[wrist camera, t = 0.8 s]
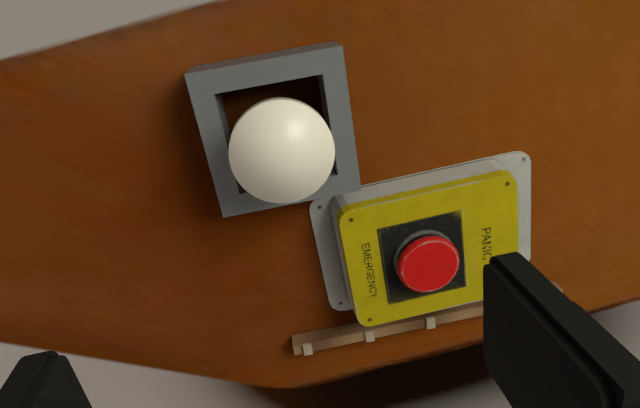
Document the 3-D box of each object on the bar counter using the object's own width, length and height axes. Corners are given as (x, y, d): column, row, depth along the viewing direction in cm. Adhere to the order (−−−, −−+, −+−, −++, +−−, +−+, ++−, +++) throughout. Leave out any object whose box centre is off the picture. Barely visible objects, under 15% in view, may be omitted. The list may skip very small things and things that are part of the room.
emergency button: (312, 224, 26) (566, 167, 27) (304, 194, 30) (526, 145, 31) (339, 349, 30) (561, 297, 31) (330, 308, 34) (526, 262, 35)
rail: (553, 279, 35) (564, 290, 34) (552, 289, 35) (563, 300, 34) (291, 334, 34) (292, 348, 32) (293, 344, 34) (295, 357, 33)
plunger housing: (333, 40, 26) (342, 45, 23) (351, 172, 29) (361, 190, 27) (191, 66, 26) (183, 74, 23) (226, 197, 29) (223, 217, 26)
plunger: (316, 79, 24) (326, 92, 21) (330, 167, 26) (341, 192, 23) (222, 96, 24) (216, 112, 21) (243, 184, 26) (242, 212, 23)
